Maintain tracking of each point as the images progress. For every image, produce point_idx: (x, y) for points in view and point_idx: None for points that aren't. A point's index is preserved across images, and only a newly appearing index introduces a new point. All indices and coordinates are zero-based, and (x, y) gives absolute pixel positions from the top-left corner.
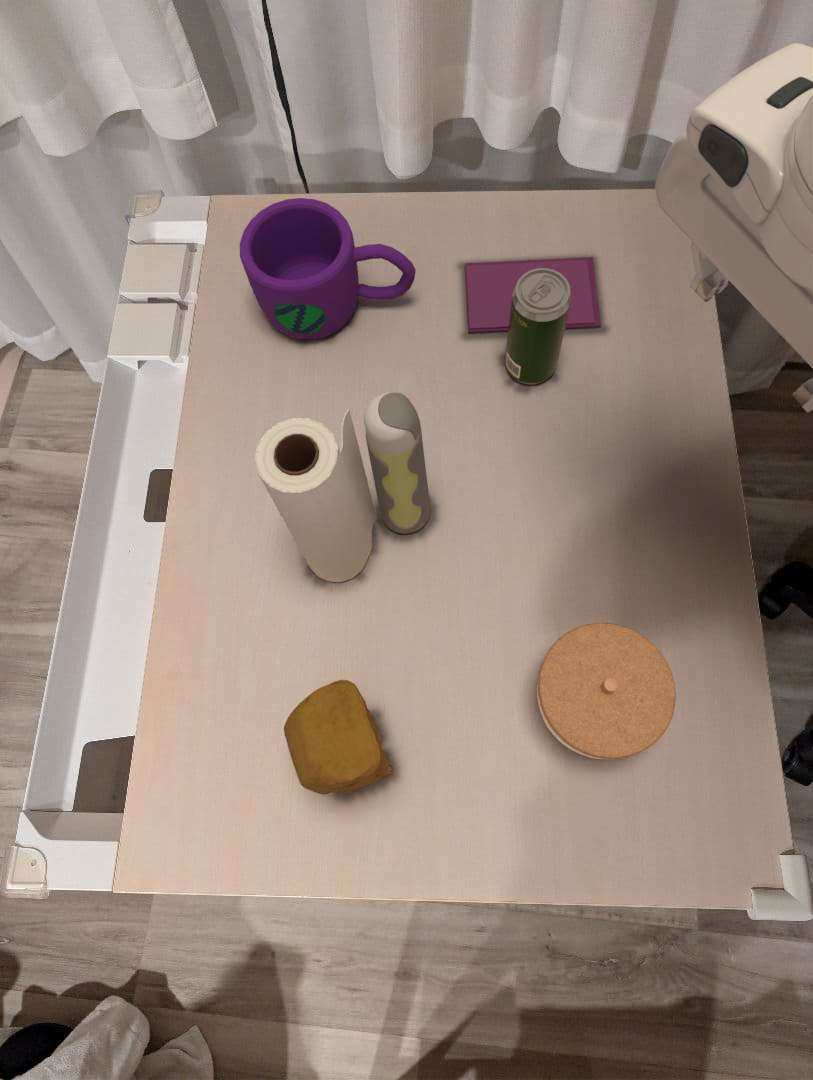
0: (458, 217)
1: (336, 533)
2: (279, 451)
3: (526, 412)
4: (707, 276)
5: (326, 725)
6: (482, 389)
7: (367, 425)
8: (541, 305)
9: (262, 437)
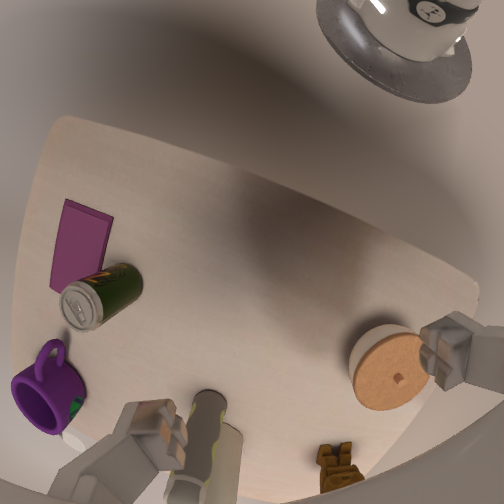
0: (24, 272)
1: (236, 492)
2: None
3: (161, 303)
4: (153, 467)
5: None
6: (135, 322)
7: None
8: (89, 318)
9: None
